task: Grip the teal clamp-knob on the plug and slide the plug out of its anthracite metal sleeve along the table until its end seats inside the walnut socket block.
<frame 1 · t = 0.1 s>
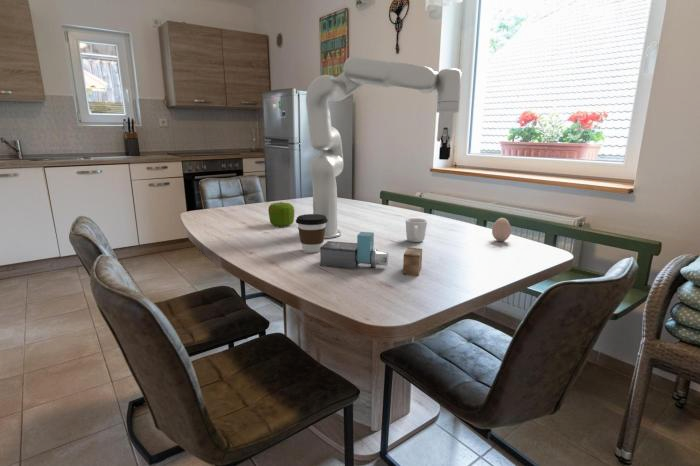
hand: (444, 158, 141), 31 cm above the table, fingers open, 9 cm apart
plug: (356, 249, 123), point 5 cm above the table, slide at 0.0 cm
egg: (500, 241, 152), on the table
sleeve: (341, 263, 126), on the table
apple: (281, 225, 177), on the table
socket: (412, 270, 119), on the table
cup: (415, 242, 151), on the table
coffee cup: (312, 251, 140), on the table
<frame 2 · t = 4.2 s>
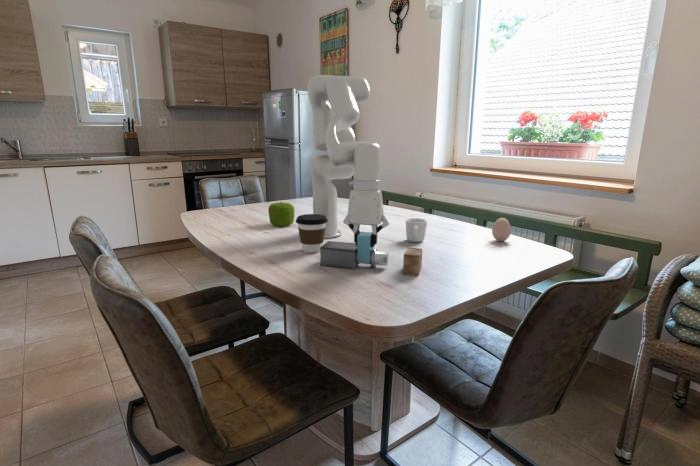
hand: (365, 245, 122), 7 cm above the table, fingers closed on plug, 4 cm apart
plug: (356, 249, 123), point 5 cm above the table, slide at 0.0 cm, touching gripper
everything else where it was.
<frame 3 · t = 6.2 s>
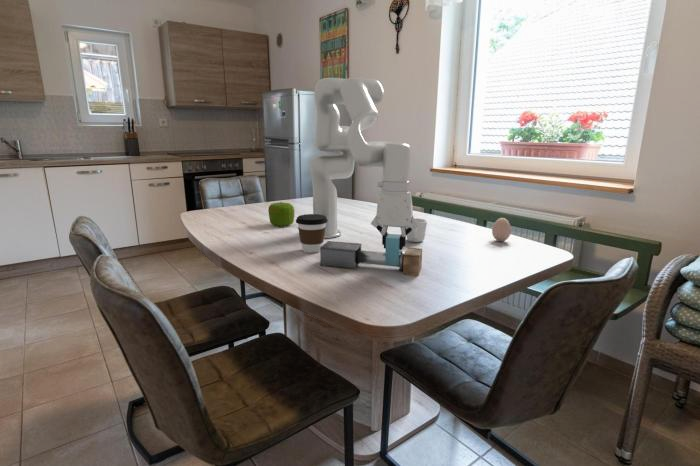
hand: (393, 247, 119), 7 cm above the table, fingers closed on plug, 4 cm apart
plug: (384, 251, 121), point 5 cm above the table, slide at 8.7 cm, touching gripper
everything else where it was.
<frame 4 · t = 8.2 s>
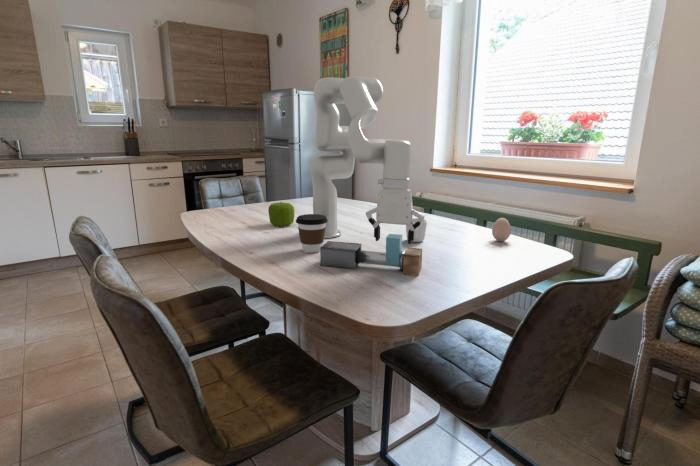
hand: (393, 241, 119), 9 cm above the table, fingers open, 9 cm apart
plug: (384, 251, 120), point 5 cm above the table, slide at 8.8 cm
everything else where it was.
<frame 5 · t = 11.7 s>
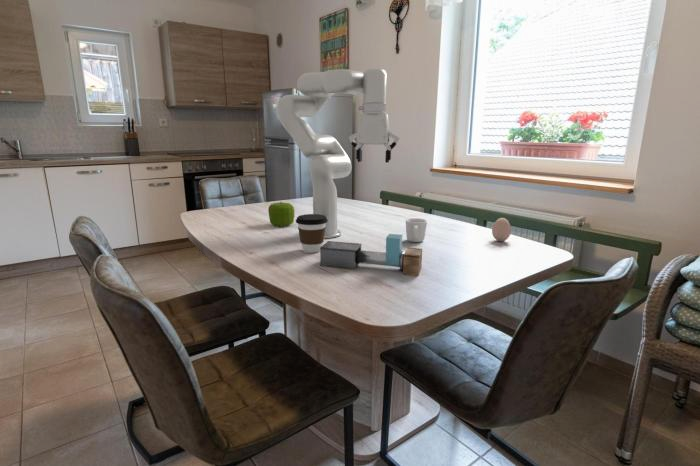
hand: (373, 161, 136), 30 cm above the table, fingers open, 9 cm apart
nothing on the table moved.
at the end: plug slide at 8.8 cm; the gripper is holding nothing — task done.
